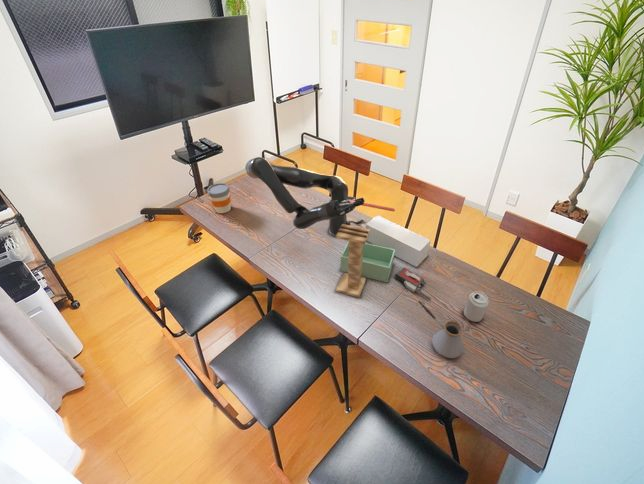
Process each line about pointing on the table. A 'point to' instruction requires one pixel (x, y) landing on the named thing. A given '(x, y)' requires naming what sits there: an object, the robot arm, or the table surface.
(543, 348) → the table surface
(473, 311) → the can
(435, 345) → the coffee pot
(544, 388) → the table surface
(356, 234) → the stand
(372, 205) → the straw
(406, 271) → the walkie-talkie
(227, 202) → the reusable coffee cup
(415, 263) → the stack of papers
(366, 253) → the bin
